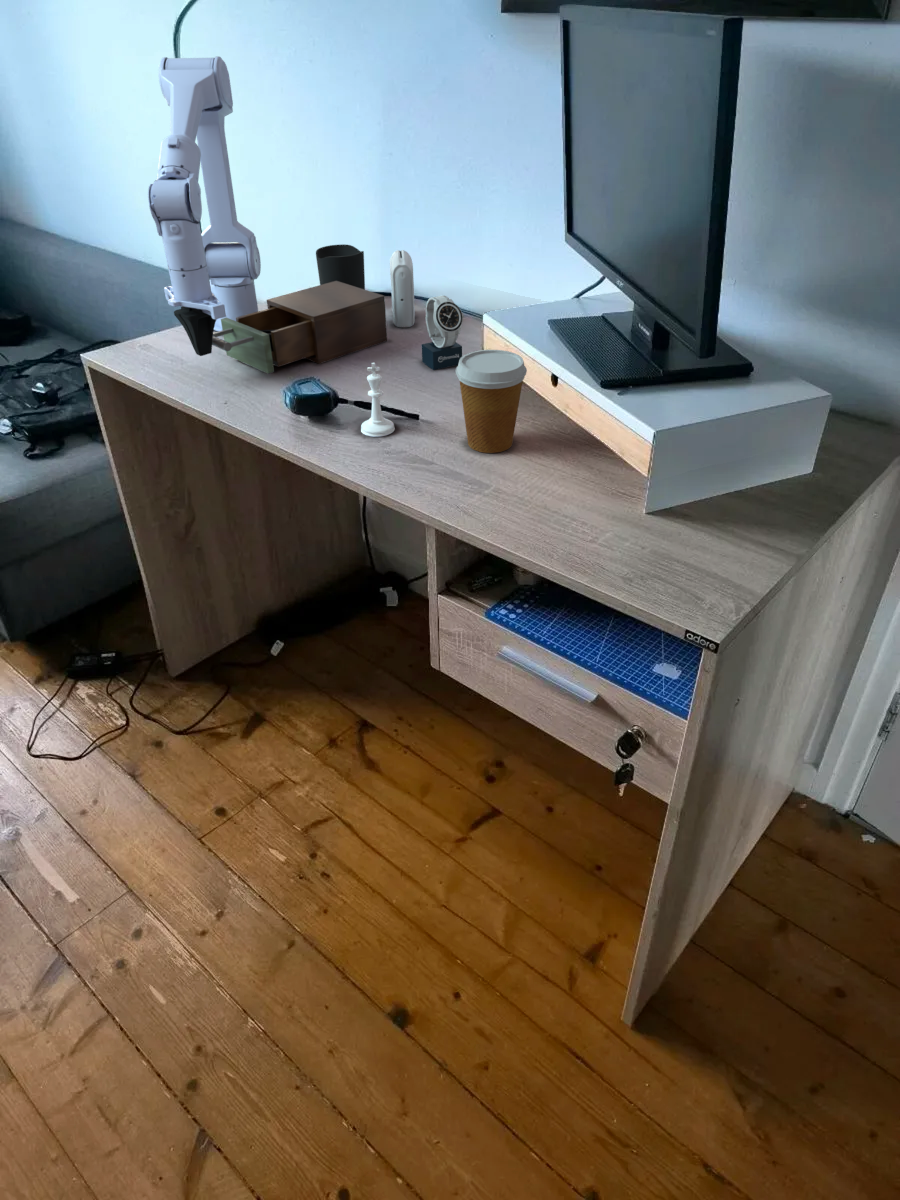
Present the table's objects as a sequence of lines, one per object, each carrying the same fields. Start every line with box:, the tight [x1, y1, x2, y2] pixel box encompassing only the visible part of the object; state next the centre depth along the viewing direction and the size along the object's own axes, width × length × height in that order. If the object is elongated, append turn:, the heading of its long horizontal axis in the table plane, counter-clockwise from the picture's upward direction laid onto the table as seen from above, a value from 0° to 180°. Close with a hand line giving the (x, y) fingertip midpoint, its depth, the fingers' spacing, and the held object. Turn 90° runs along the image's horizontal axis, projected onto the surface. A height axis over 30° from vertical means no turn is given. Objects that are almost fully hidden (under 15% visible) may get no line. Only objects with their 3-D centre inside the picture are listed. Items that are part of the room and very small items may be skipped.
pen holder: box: [315, 243, 366, 290], centre depth 171 cm, size 9×9×10 cm
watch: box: [421, 295, 465, 371], centre depth 142 cm, size 6×8×11 cm
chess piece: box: [360, 362, 396, 438], centre depth 122 cm, size 5×5×10 cm
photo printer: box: [389, 249, 416, 328], centre depth 161 cm, size 10×4×12 cm, turn 4°
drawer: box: [212, 307, 315, 375], centre depth 145 cm, size 20×12×6 cm, turn 135°
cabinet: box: [266, 281, 388, 364], centre depth 152 cm, size 16×14×8 cm
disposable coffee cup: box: [455, 349, 528, 454], centre depth 117 cm, size 10×10×12 cm
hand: (204, 353), depth 138 cm, fingers closed
